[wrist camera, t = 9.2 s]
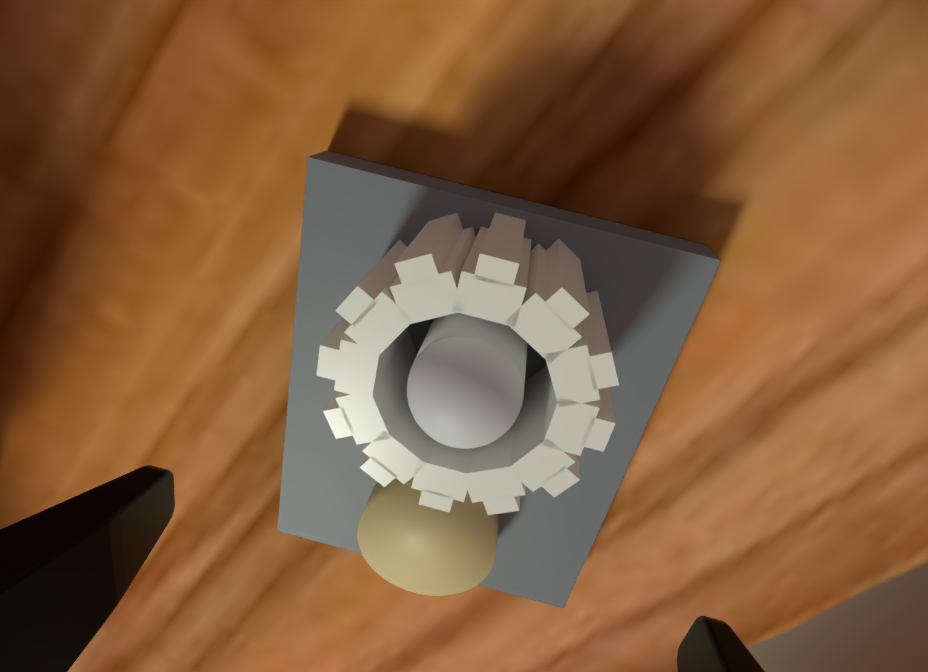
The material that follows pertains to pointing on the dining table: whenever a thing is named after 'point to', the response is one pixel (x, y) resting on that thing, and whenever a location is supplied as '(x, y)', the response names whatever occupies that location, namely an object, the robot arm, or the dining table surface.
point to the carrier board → (630, 316)
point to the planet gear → (491, 298)
